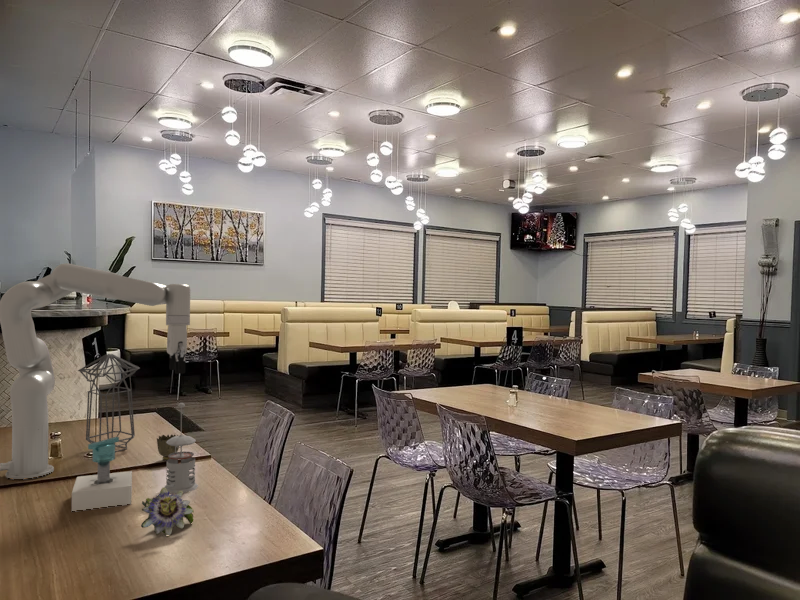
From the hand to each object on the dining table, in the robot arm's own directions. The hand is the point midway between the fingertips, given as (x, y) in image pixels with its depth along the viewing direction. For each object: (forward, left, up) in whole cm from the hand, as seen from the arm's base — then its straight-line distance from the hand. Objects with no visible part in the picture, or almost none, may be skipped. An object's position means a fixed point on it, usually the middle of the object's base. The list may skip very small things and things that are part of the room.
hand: (177, 371), depth 193 cm
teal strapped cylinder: (-20, -29, -31) cm, 47 cm away
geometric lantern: (-21, +24, -31) cm, 44 cm away
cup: (-2, +4, -31) cm, 31 cm away
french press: (0, -26, -31) cm, 41 cm away
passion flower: (-5, -57, -31) cm, 65 cm away
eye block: (-20, -29, -31) cm, 47 cm away
